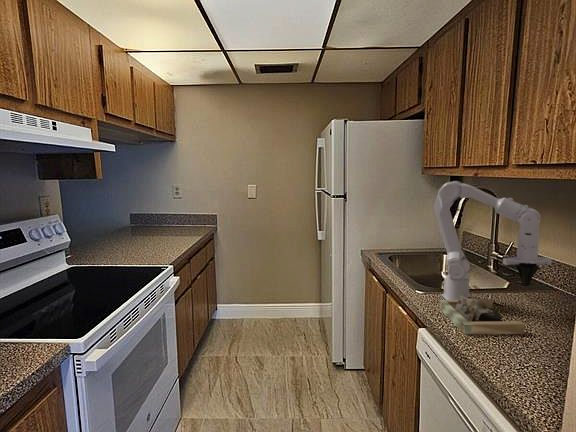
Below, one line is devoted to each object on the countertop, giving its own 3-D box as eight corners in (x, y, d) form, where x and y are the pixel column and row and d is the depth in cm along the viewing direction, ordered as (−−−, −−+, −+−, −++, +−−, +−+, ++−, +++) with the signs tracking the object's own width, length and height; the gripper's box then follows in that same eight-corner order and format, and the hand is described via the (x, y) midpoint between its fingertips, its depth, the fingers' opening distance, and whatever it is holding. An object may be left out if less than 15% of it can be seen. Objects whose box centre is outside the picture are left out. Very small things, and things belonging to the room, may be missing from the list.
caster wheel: (502, 330, 115) (481, 333, 111) (472, 311, 125) (452, 312, 120) (510, 312, 114) (489, 313, 109) (479, 294, 123) (459, 294, 119)
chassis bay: (438, 308, 128) (438, 300, 127) (489, 307, 127) (489, 299, 127) (464, 334, 108) (464, 324, 108) (524, 333, 107) (524, 324, 107)
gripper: (511, 248, 116) (509, 289, 118) (559, 247, 115) (555, 289, 117) (500, 243, 123) (498, 282, 125) (544, 243, 122) (541, 282, 124)
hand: (525, 285), depth 121 cm, fingers closed
